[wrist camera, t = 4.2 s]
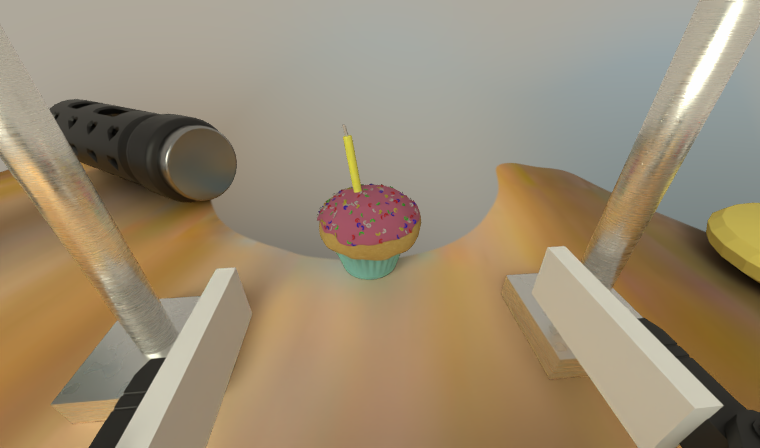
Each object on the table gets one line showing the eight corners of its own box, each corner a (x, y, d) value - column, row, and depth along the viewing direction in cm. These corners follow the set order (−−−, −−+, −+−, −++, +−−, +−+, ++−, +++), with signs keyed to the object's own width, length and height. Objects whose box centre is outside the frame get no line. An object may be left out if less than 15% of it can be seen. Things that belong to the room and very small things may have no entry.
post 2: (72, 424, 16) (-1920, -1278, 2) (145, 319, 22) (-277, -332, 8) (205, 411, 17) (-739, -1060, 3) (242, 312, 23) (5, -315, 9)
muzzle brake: (137, 157, 51) (106, 92, 46) (252, 193, 40) (230, 111, 34) (67, 178, 44) (21, 103, 39) (182, 228, 33) (140, 132, 27)
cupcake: (303, 271, 26) (277, 134, 20) (359, 226, 33) (353, 109, 26) (388, 312, 23) (389, 159, 16) (434, 251, 29) (448, 122, 22)
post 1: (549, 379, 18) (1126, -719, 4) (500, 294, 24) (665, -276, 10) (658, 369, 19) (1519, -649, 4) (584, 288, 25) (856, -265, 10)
